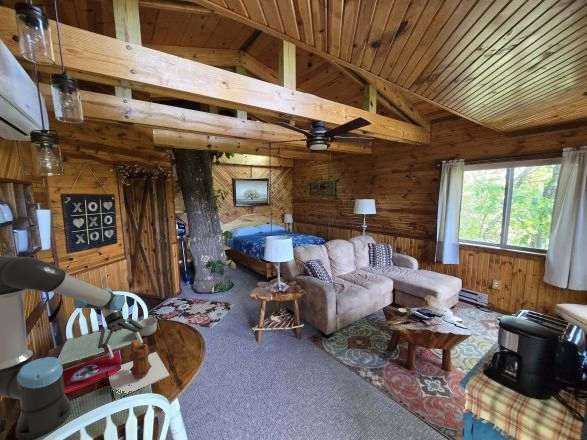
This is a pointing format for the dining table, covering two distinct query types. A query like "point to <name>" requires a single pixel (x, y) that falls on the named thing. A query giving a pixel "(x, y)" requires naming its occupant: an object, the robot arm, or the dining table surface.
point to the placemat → (126, 378)
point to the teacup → (148, 326)
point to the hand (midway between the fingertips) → (127, 350)
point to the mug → (139, 359)
